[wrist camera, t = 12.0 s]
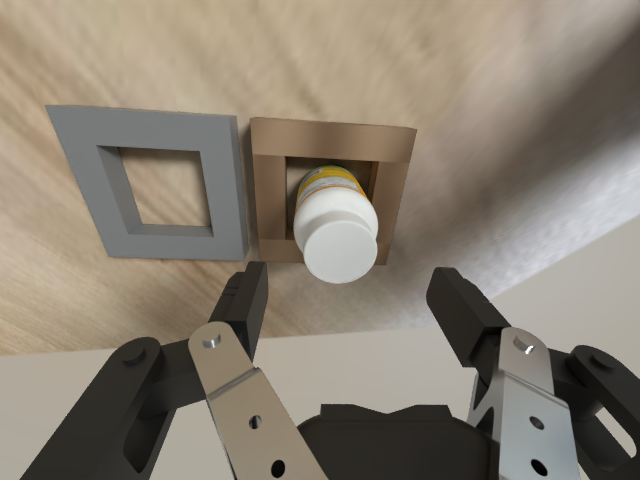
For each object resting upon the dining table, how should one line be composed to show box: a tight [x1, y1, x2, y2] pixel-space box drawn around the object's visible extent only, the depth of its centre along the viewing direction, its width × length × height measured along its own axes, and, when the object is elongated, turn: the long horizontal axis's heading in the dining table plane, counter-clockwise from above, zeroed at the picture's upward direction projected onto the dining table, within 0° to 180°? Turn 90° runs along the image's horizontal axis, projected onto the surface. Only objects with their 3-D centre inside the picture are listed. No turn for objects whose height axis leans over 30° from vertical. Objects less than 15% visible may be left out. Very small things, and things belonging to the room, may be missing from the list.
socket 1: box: [45, 105, 249, 261], centre depth 20 cm, size 12×12×2 cm
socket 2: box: [250, 117, 417, 265], centre depth 21 cm, size 12×12×2 cm
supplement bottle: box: [294, 165, 378, 284], centre depth 17 cm, size 5×5×10 cm
